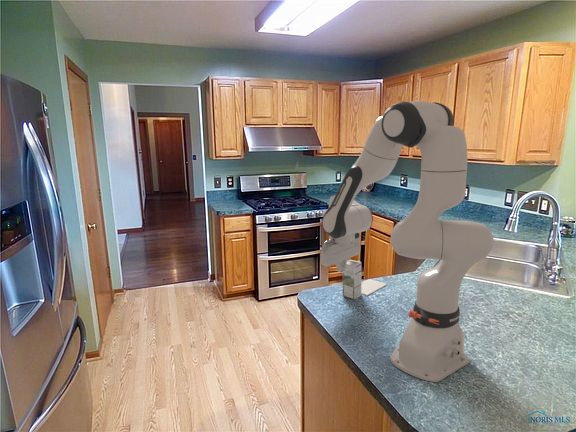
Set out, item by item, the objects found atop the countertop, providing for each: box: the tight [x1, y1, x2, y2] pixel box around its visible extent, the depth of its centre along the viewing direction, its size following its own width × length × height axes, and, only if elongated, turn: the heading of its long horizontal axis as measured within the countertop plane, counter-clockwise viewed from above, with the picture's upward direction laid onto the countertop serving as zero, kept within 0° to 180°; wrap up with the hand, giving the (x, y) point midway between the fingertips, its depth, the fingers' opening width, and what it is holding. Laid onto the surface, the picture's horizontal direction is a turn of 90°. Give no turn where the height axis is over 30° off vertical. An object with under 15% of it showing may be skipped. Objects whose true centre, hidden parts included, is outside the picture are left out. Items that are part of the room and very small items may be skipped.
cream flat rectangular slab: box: [361, 278, 388, 296], centre depth 147 cm, size 15×9×1 cm, turn 133°
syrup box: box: [341, 258, 363, 301], centre depth 138 cm, size 6×6×14 cm
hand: (341, 271), depth 132 cm, fingers closed
